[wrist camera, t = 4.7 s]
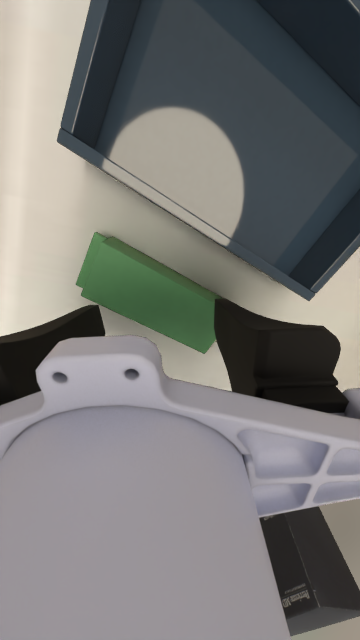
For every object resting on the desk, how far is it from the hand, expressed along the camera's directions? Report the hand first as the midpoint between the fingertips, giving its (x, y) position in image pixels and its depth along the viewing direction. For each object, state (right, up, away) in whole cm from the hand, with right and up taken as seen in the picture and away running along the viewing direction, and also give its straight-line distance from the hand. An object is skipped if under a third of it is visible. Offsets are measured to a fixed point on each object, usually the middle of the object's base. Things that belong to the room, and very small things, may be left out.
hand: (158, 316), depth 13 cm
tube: (0, +2, +4) cm, 4 cm away
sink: (+5, +10, 0) cm, 11 cm away
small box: (+13, -25, +19) cm, 34 cm away
